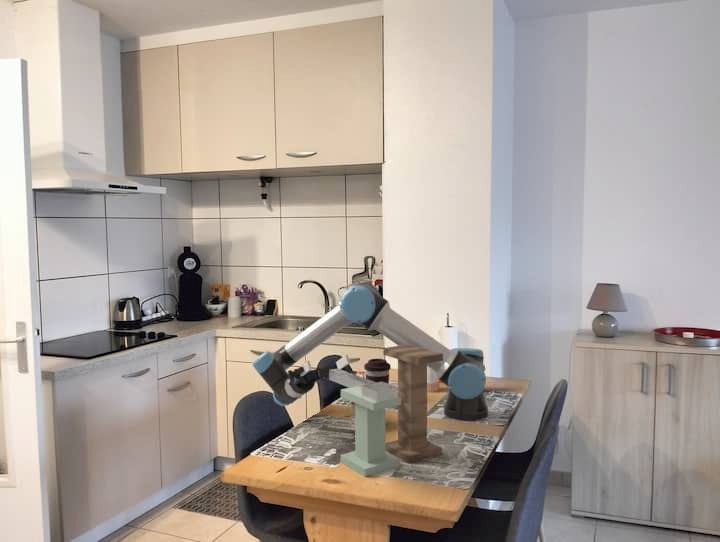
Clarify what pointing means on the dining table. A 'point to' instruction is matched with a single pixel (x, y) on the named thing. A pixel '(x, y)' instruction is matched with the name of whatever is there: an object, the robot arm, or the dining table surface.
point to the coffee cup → (377, 370)
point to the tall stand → (412, 403)
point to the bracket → (364, 386)
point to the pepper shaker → (432, 381)
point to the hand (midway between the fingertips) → (329, 361)
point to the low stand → (369, 435)
